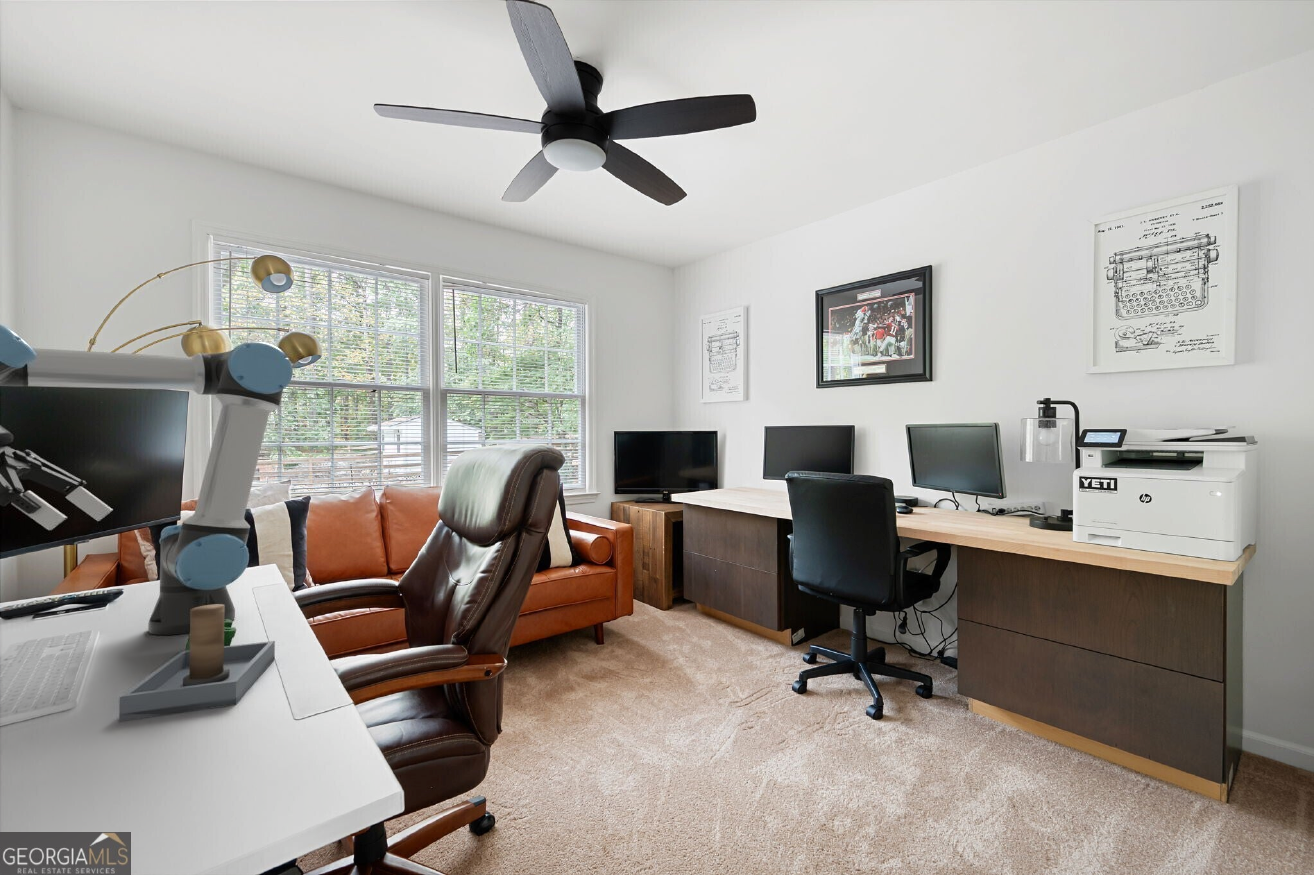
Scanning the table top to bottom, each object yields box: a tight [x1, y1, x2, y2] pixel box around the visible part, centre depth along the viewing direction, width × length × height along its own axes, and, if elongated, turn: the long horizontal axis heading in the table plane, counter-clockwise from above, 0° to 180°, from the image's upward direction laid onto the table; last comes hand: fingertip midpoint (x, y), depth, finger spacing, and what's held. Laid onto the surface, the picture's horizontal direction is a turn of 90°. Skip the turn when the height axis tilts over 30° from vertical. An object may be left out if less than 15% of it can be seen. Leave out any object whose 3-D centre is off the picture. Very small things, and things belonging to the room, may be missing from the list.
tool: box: [183, 604, 230, 687], centre depth 91 cm, size 6×6×12 cm
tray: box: [118, 640, 276, 722], centre depth 91 cm, size 20×14×4 cm
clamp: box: [185, 619, 237, 651], centre depth 108 cm, size 12×6×9 cm, turn 37°
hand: (83, 519), depth 96 cm, fingers open, 13 cm apart
